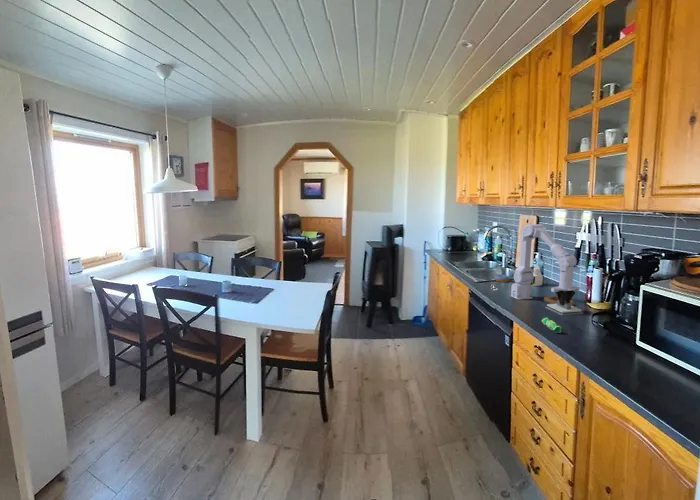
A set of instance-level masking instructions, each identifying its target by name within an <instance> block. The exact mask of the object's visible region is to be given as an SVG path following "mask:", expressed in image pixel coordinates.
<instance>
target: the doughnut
mask: <svg viewBox="0 0 700 500" xmlns="http://www.w3.org/2000/svg"><path fill="white" fill-rule="evenodd" d="M493 280H494V281H495V280H496V281H495V282H497V281H499V283H507V282H509V281H510V276H509V275H507V274H496V275H494V277H493Z"/></svg>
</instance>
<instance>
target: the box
mask: <svg viewBox="0 0 700 500" xmlns="http://www.w3.org/2000/svg"><path fill="white" fill-rule="evenodd" d="M557 300H559V299H558V296H557V295H556V296H555V295H554V296H553V295H552V296H544V297H543V302H545V303H547V304H557ZM570 304H572V305H571V306H574V300H572V299H571V301H570Z"/></svg>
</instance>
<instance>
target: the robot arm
mask: <svg viewBox="0 0 700 500" xmlns="http://www.w3.org/2000/svg"><path fill="white" fill-rule="evenodd" d="M535 238H539V239H541V240H542V241H543V242H544V243H545V244H546V245H547V247H549V248H550V251H549V252H550V253H552V255H553V256H554V257H555V259H556V260H557V264H558V266H559V284H558V286H554V287H551V290H550V291H551V292H552V293H555V294H556V296H558V299H559V303H560V305H564V301H566V302H568V303H570V301H571V300H572V298H574V296H575V295H576V291H580V290H581V289H580V288H581V287H580V286H578V285H573V283H574V267H575V266H576V265H577V263H578V260H577V258H576V256H575V255H572V254H570V253H569V252H568V251H567V250H566V249H565V248H564V246H563V245H561V244H558V243H556V241H555V240H554V238H553V237H552V236H551V235H550V233H549V232H548V230H547V227H545V225H544V224H542V223H538V224H537V223H535V224H527V225H525V226H524V227H523V228H522V234H521V236H520V247H519V248H520V250H519V251H520V252H519V265H518V267H517V268H516V269H515V270H514V271H515V272H514V274H513V280H514V282H515V283H512V284H511V287H510V291H511V292H510V297H512V298H514V299H516V300H519V301H520V300H532V299H533V297H532V296H530V295H531V294H530V291H531V285H530V283H531V281H532V280H533V278H534V275H533V270H532V268H530V267H531V254H532V242H533V240H534V239H535Z"/></svg>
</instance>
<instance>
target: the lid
mask: <svg viewBox="0 0 700 500" xmlns="http://www.w3.org/2000/svg"><path fill="white" fill-rule="evenodd" d="M571 305H572V304H570V303H568V302H566V301H564V305H560V303H559V300H557V304H549V303H547V304H546V307H551V308H553V309H555V310H557V311H559V312H562V313H567V312H577V311H580V312H582V310H583V309H580V308H578V307H576V306H574V305H573V306H571Z"/></svg>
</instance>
